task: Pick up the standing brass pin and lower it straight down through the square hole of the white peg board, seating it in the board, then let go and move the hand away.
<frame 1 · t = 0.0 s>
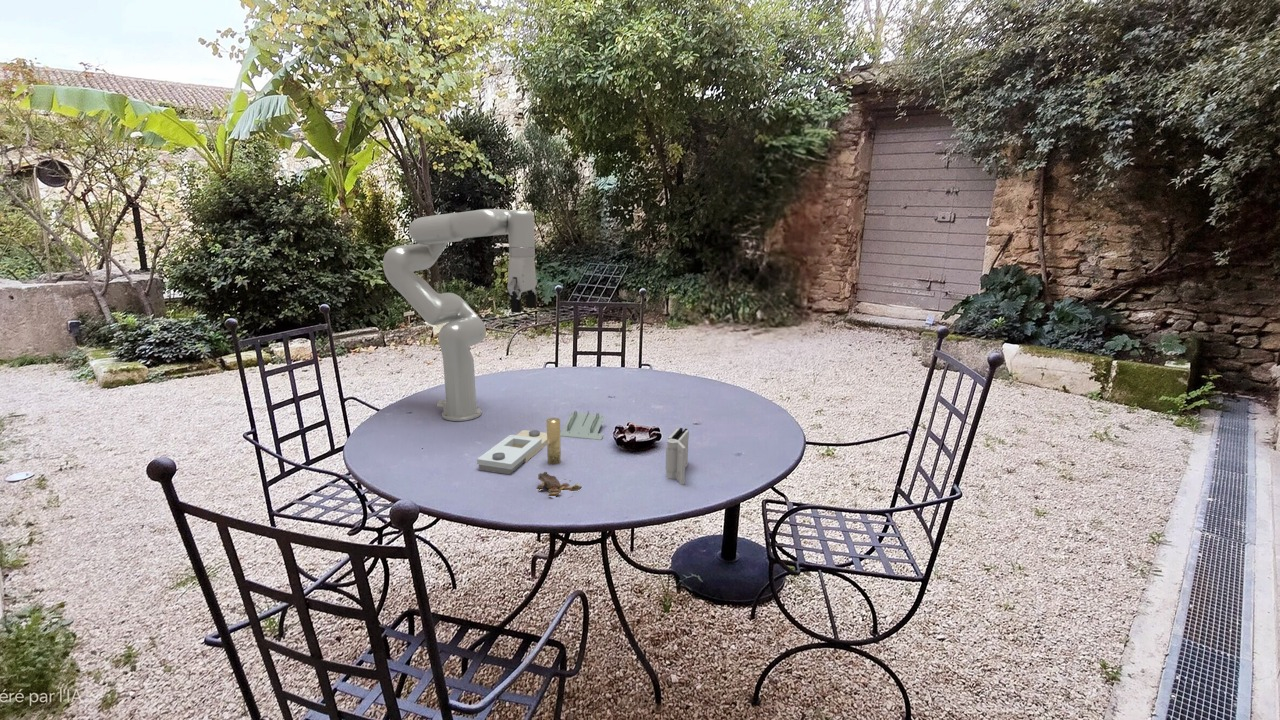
hand: (523, 310, 179), 37 cm above the table, tool pointing down, fingers open, 9 cm apart
frog figurine: (555, 492, 145), on the table
brass pin: (554, 461, 160), on the table
white peg board: (518, 453, 165), on the table
metal bracket: (583, 432, 183), on the table
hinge: (678, 473, 155), on the table
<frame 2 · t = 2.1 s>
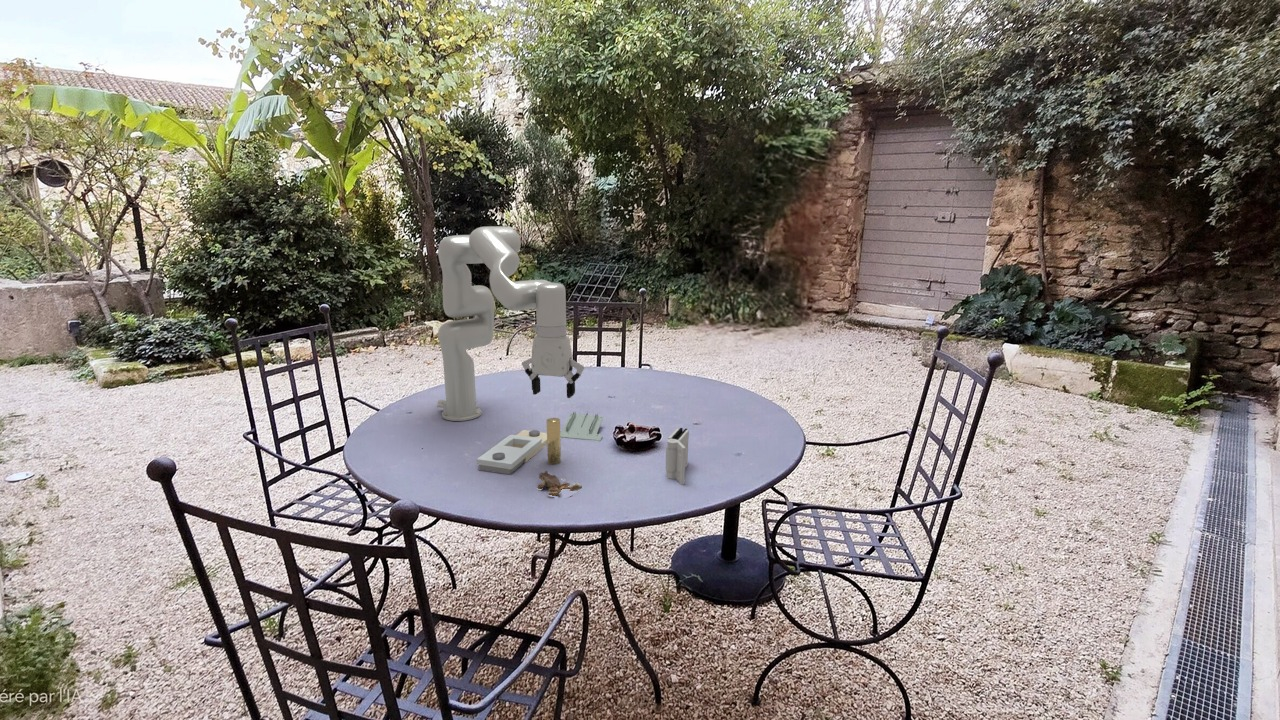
hand: (553, 394, 155), 19 cm above the table, tool pointing down, fingers open, 9 cm apart
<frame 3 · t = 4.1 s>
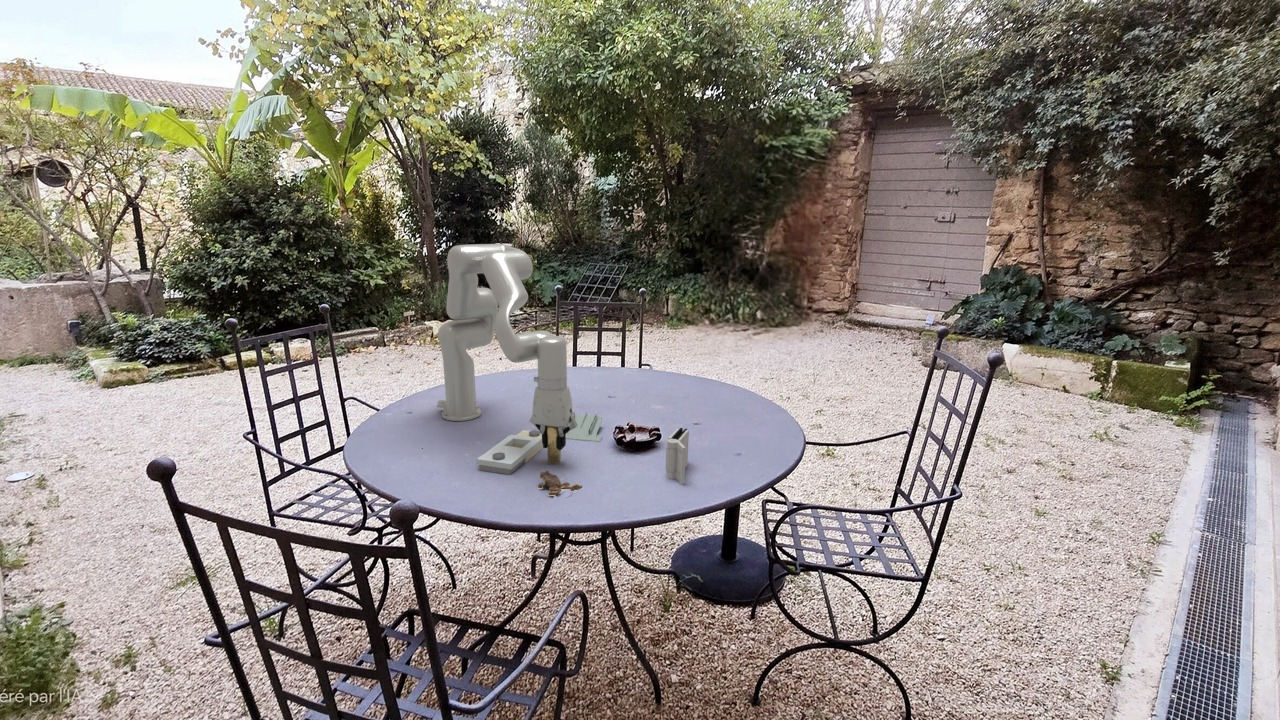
hand: (553, 446, 159), 4 cm above the table, tool pointing down, fingers closed on brass pin, 3 cm apart
brass pin: (554, 461, 160), on the table, touching gripper
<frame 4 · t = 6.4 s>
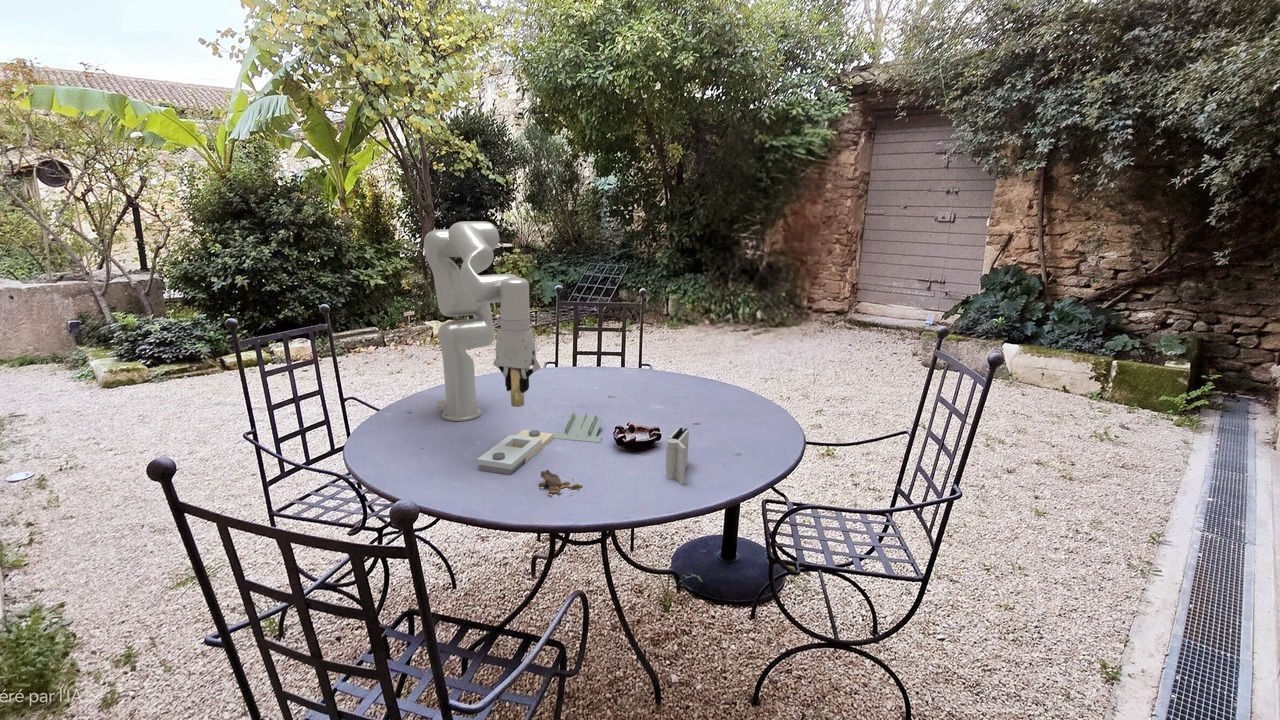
hand: (517, 389, 161), 19 cm above the table, tool pointing down, fingers closed on brass pin, 3 cm apart
brass pin: (517, 404, 162), point 14 cm above the table, touching gripper
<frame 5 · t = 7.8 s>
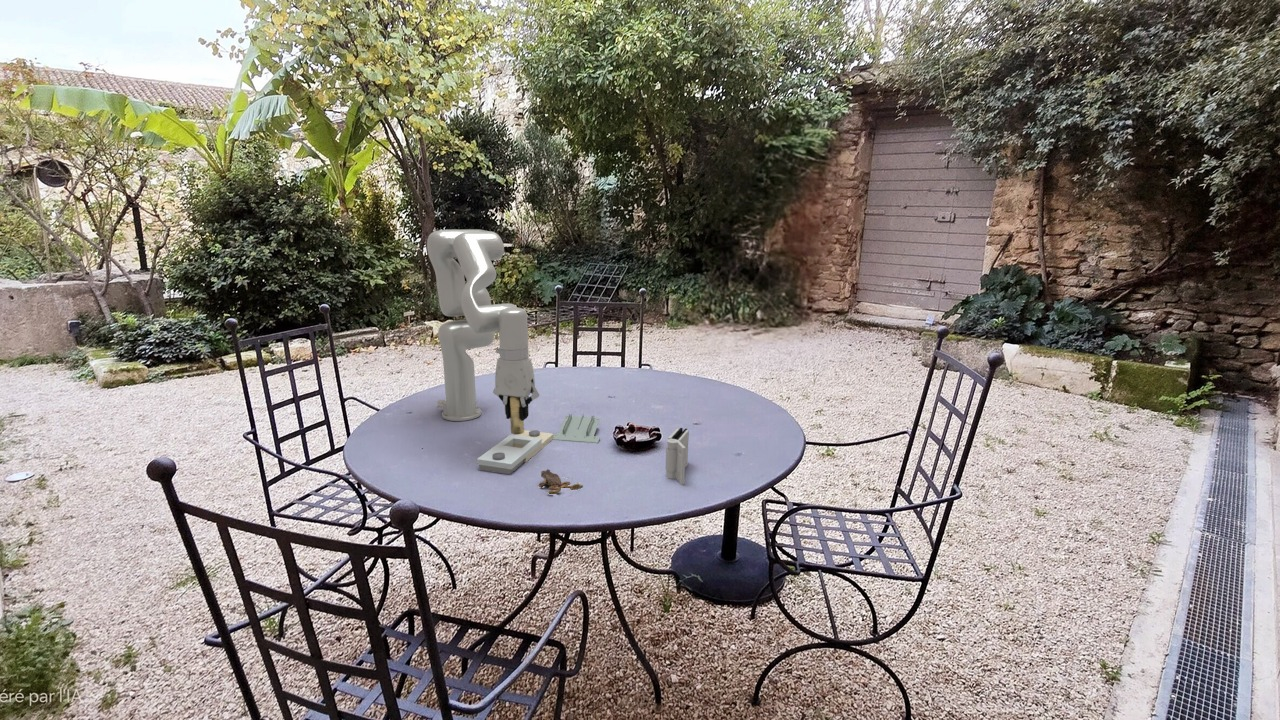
hand: (517, 417, 162), 11 cm above the table, tool pointing down, fingers closed on brass pin, 3 cm apart
brass pin: (517, 432, 163), point 6 cm above the table, touching gripper
when the fingers open (5 cm above the table, at t = 9.5 s): brass pin stays where it is, resting in white peg board.
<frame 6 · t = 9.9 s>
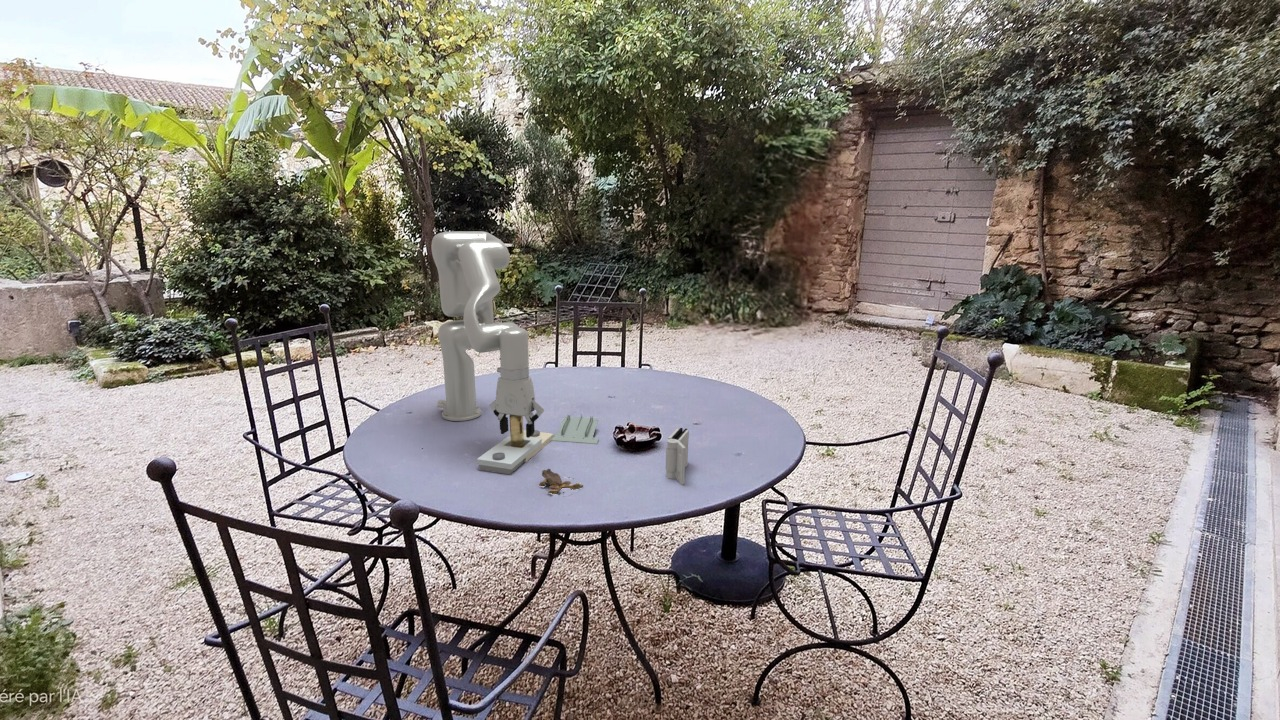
hand: (517, 433, 164), 6 cm above the table, tool pointing down, fingers open, 7 cm apart
brass pin: (517, 452, 165), resting in white peg board
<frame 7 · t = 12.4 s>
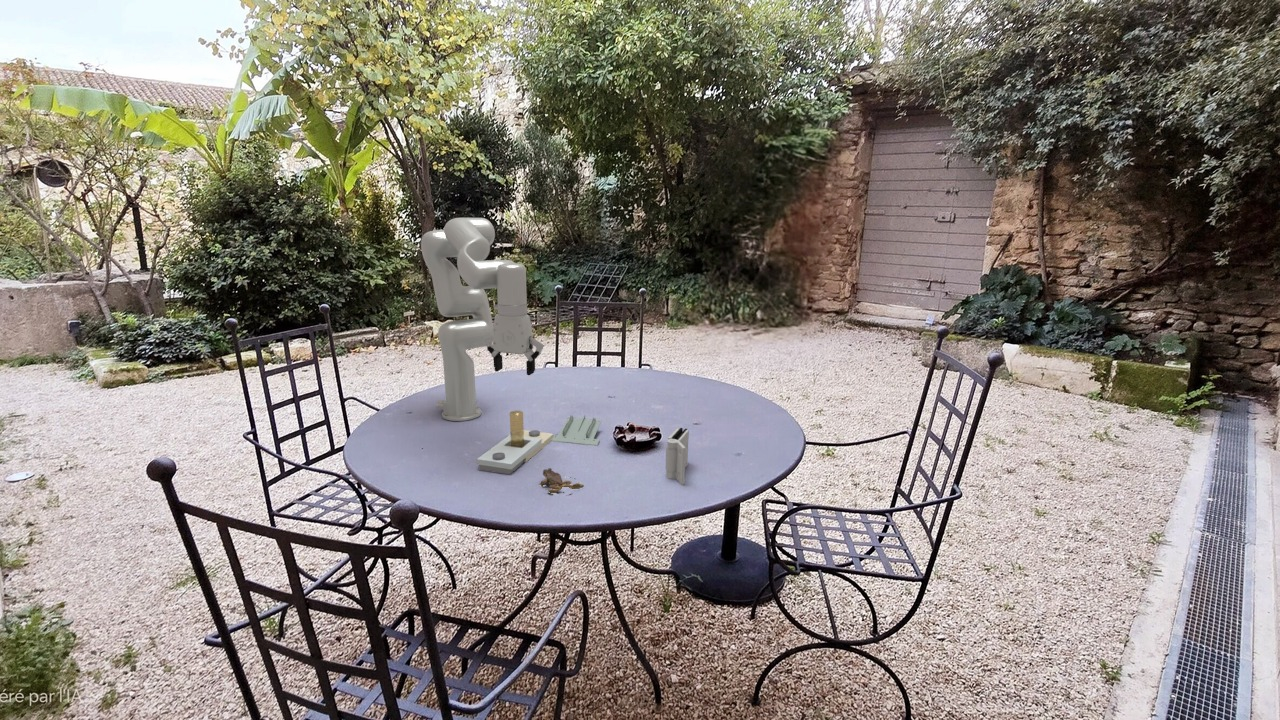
hand: (514, 372, 160), 23 cm above the table, tool pointing down, fingers open, 9 cm apart
metal bracket: (579, 437, 179), on the table
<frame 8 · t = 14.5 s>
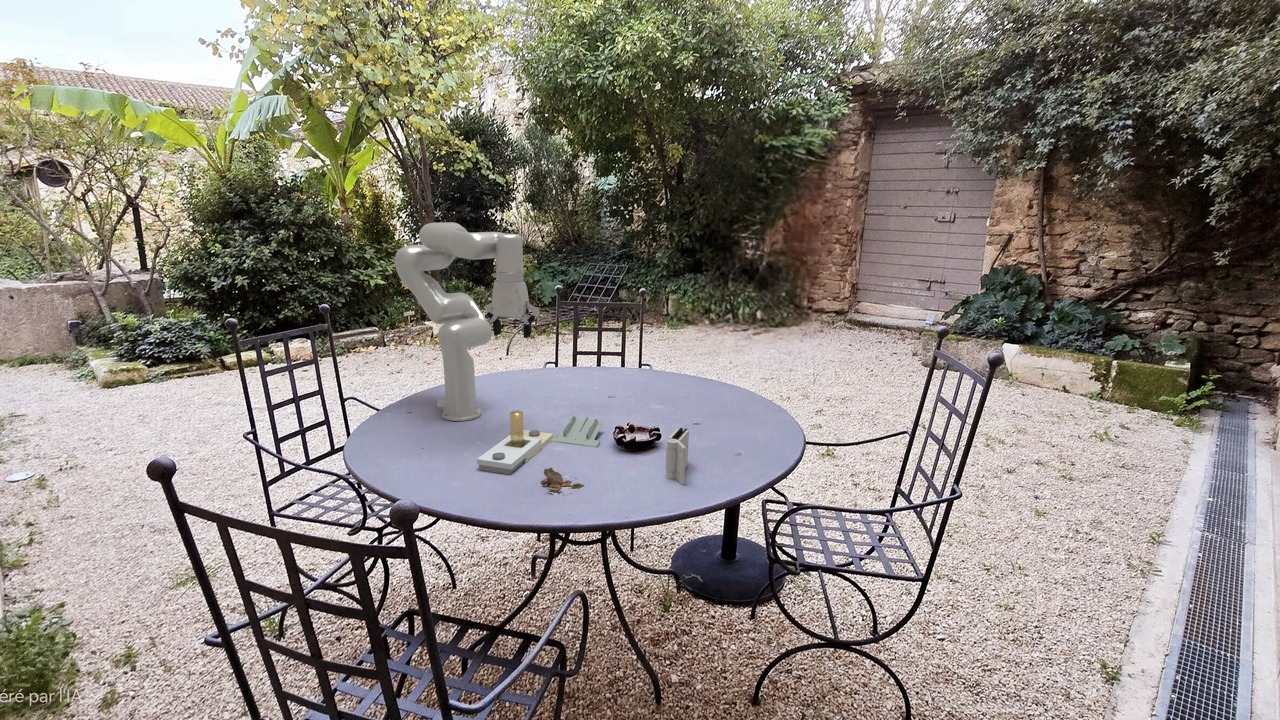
hand: (512, 335, 173), 30 cm above the table, tool pointing down, fingers open, 9 cm apart
metal bracket: (580, 438, 178), on the table, touching white peg board
at the end: brass pin 0.1 cm off-centre on the white peg board, point 0.0 cm above the white peg board's base; brass pin tilted 0°; the gripper is holding nothing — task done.
